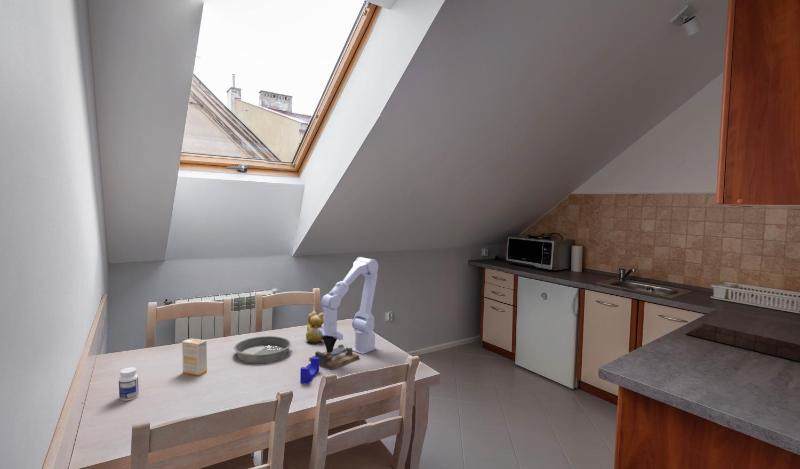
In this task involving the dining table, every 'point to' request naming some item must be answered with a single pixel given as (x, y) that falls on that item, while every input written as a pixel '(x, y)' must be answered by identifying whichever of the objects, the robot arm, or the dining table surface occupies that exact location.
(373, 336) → the robot arm
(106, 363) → the dining table surface
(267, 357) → the cake pan
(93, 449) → the dining table surface
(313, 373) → the cable clip
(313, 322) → the decorative figurine
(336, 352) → the tan and grey block
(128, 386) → the pill bottle
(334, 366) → the clamp board
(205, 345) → the supplement box
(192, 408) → the dining table surface
